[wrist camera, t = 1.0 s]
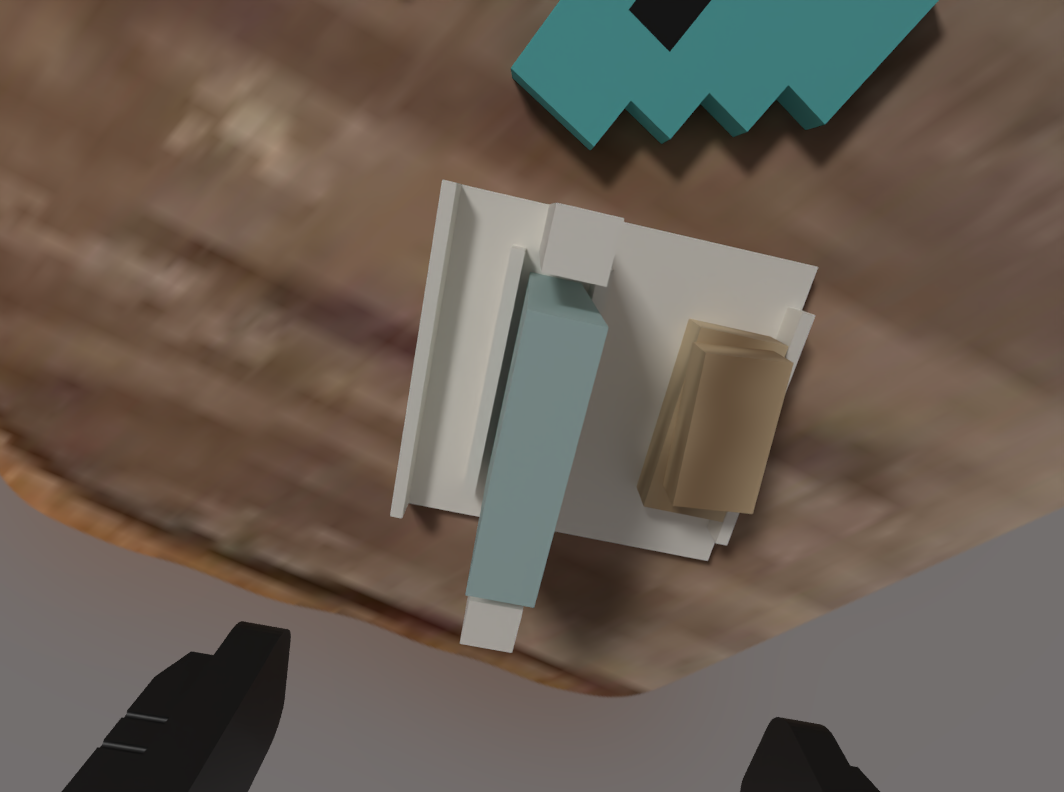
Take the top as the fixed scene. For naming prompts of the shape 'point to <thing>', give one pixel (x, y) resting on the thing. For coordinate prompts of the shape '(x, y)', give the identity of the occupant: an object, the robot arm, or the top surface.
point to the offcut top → (725, 427)
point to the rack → (622, 376)
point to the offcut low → (664, 429)
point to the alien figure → (706, 59)
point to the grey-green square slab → (536, 438)
